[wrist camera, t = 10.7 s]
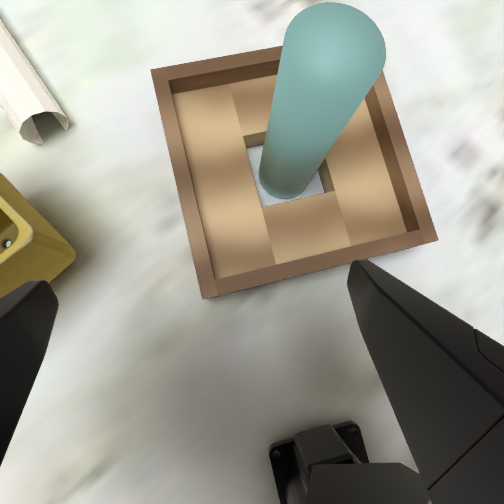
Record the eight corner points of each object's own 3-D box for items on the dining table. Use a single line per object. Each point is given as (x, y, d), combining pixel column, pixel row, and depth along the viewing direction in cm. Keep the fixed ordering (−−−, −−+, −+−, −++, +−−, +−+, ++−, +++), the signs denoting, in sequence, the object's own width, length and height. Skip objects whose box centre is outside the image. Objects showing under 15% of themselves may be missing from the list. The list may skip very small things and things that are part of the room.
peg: (318, 170, 24) (405, 42, 12) (289, 209, 24) (347, 115, 11) (278, 140, 25) (323, -16, 12) (248, 178, 24) (262, 53, 12)
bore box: (409, 248, 24) (438, 240, 20) (207, 298, 22) (202, 299, 19) (351, 65, 26) (369, 30, 22) (162, 101, 24) (150, 69, 21)
